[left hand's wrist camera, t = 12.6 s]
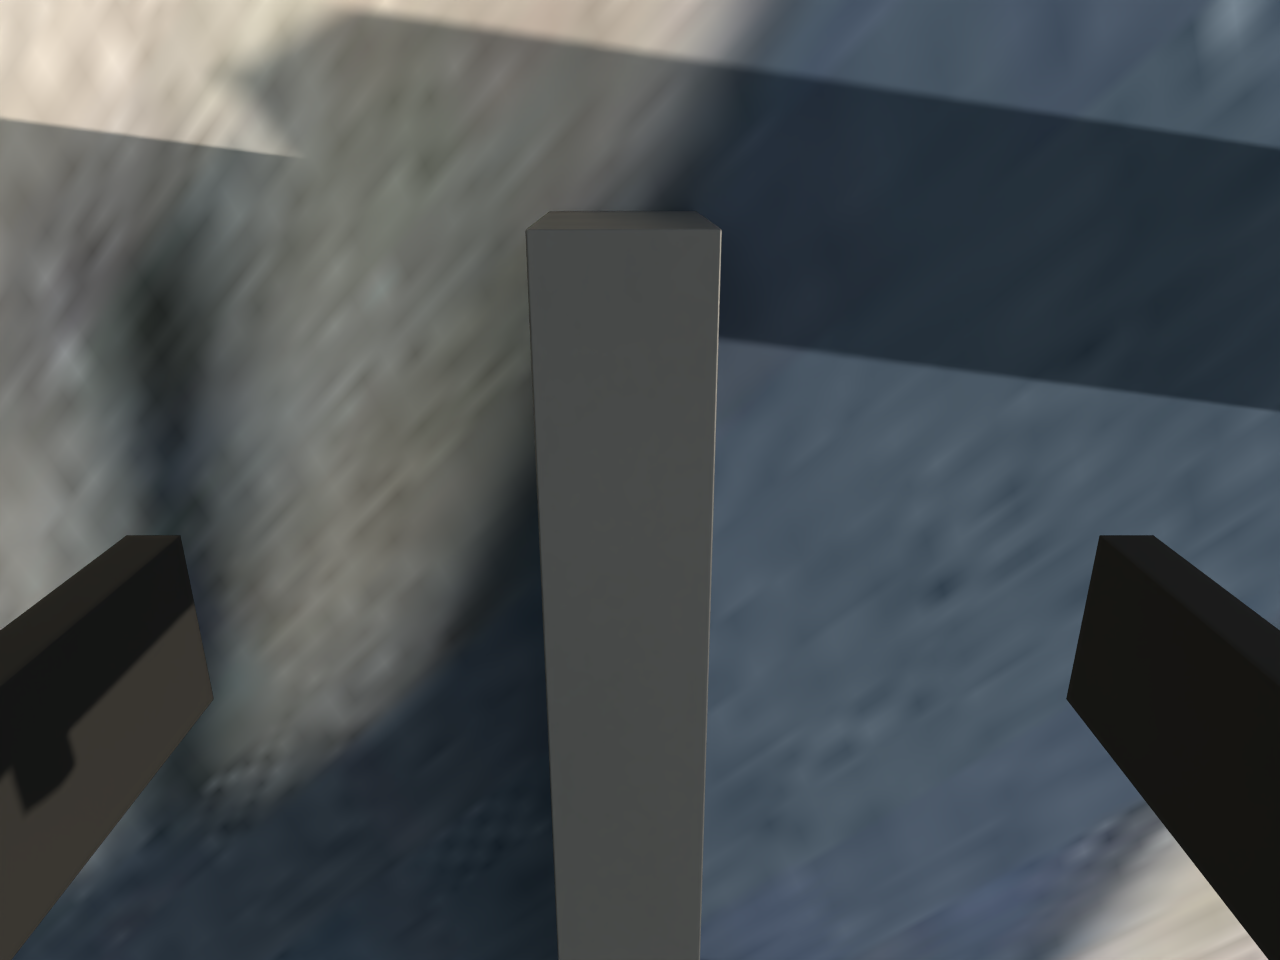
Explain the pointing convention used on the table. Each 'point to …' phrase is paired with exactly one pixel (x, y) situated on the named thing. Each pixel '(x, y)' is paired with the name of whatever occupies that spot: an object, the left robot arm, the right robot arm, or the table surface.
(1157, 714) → the left robot arm
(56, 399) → the table surface
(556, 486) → the post
